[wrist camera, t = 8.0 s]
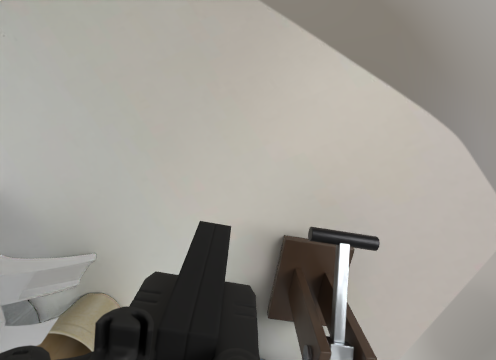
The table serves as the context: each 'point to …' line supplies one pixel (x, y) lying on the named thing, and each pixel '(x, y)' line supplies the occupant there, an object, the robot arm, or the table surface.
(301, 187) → the table surface
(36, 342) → the faucet
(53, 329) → the flower pot
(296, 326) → the brown lever stand
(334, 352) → the tap lever
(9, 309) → the vase
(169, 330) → the robot arm
